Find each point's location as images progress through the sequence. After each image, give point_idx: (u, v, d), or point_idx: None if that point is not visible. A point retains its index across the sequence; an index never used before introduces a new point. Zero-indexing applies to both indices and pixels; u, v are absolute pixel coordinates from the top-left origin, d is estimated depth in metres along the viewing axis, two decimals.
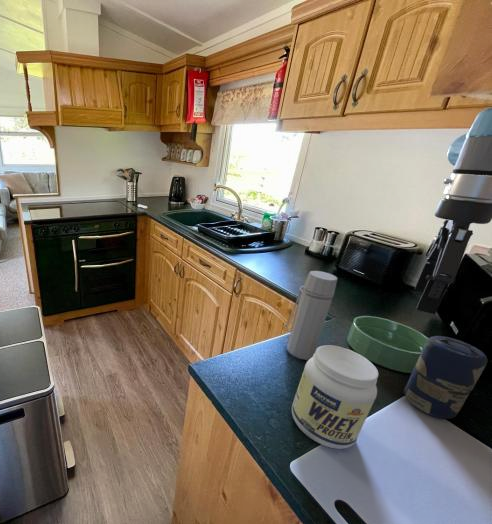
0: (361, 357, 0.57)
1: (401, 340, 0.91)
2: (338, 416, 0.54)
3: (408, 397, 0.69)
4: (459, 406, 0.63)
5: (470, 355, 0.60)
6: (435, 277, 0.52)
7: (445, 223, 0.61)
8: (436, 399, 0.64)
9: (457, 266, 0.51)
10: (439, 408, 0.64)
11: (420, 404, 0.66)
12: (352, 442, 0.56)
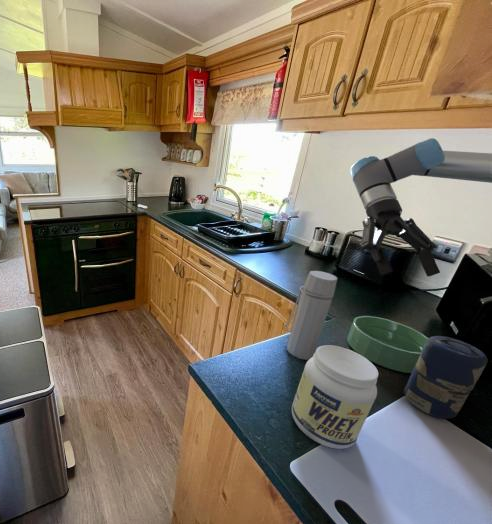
0: (361, 357, 0.57)
1: (401, 340, 0.91)
2: (338, 416, 0.54)
3: (408, 397, 0.69)
4: (459, 406, 0.63)
5: (470, 355, 0.60)
6: (361, 247, 0.77)
7: None
8: (436, 399, 0.64)
9: (368, 235, 0.76)
10: (439, 408, 0.64)
11: (420, 404, 0.66)
12: (352, 442, 0.56)
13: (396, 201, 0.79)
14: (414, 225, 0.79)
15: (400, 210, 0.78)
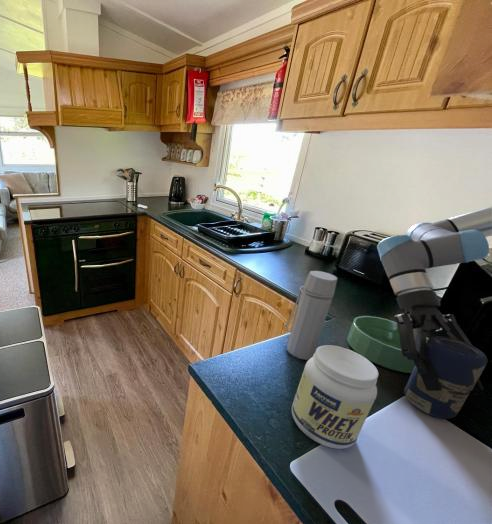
0: (361, 357, 0.57)
1: None
2: (338, 416, 0.54)
3: (408, 397, 0.69)
4: (459, 406, 0.63)
5: (470, 355, 0.60)
6: (402, 354, 0.67)
7: None
8: (436, 399, 0.64)
9: (409, 341, 0.66)
10: (439, 408, 0.64)
11: (420, 403, 0.66)
12: (352, 442, 0.56)
13: (433, 293, 0.69)
14: (454, 323, 0.69)
15: (438, 304, 0.69)
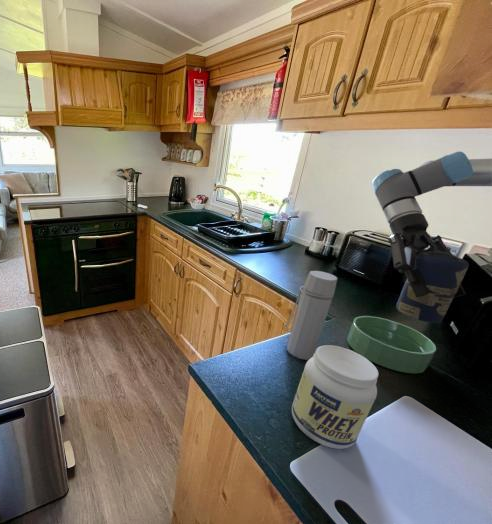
0: (361, 357, 0.57)
1: (401, 340, 0.91)
2: (338, 416, 0.54)
3: (400, 308, 0.77)
4: (444, 309, 0.71)
5: (453, 260, 0.68)
6: (395, 268, 0.75)
7: None
8: (424, 304, 0.72)
9: (400, 255, 0.74)
10: (426, 312, 0.72)
11: (410, 311, 0.75)
12: (352, 442, 0.56)
13: (422, 216, 0.77)
14: (440, 242, 0.77)
15: (426, 225, 0.77)
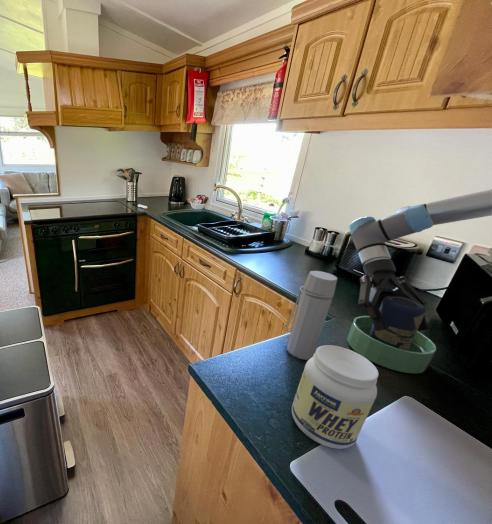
0: (361, 357, 0.57)
1: None
2: (338, 416, 0.54)
3: None
4: (406, 347, 0.82)
5: (412, 307, 0.79)
6: None
7: None
8: (389, 343, 0.83)
9: (365, 294, 0.85)
10: None
11: None
12: (352, 442, 0.56)
13: (390, 261, 0.88)
14: (407, 283, 0.88)
15: (394, 270, 0.87)
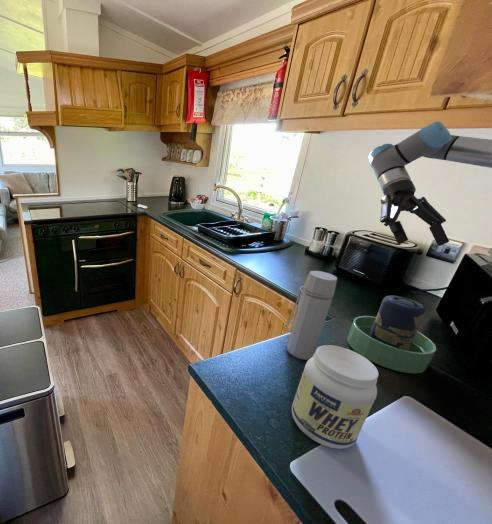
0: (361, 357, 0.57)
1: None
2: (338, 416, 0.54)
3: None
4: (406, 347, 0.82)
5: (412, 307, 0.79)
6: (380, 221, 0.89)
7: None
8: (389, 343, 0.83)
9: (386, 210, 0.88)
10: None
11: None
12: (352, 442, 0.56)
13: (410, 181, 0.91)
14: (426, 202, 0.91)
15: (414, 189, 0.90)
